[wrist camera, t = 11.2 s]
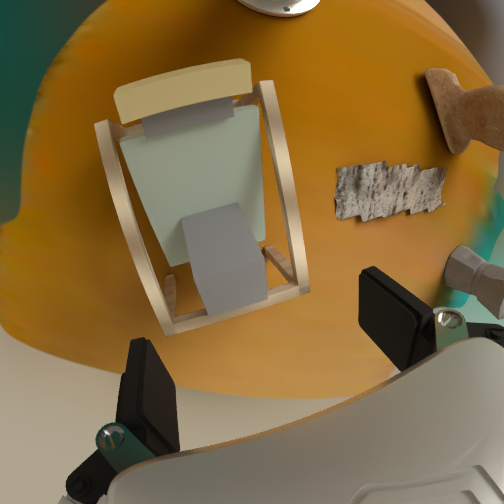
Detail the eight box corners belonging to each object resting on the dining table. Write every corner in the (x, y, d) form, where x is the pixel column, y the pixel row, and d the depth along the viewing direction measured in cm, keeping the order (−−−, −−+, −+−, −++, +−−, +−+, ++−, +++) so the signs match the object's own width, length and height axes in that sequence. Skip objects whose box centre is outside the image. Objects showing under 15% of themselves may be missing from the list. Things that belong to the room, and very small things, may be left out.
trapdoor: (105, 89, 14) (97, 101, 12) (250, 54, 15) (266, 61, 14) (169, 259, 28) (173, 284, 26) (262, 233, 29) (272, 254, 27)
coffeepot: (433, 271, 43) (506, 317, 26) (456, 229, 41) (531, 263, 25) (456, 299, 49) (513, 338, 32) (476, 264, 47) (534, 297, 31)
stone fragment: (323, 168, 33) (335, 242, 36) (334, 170, 30) (346, 248, 34) (445, 145, 36) (449, 201, 40) (457, 146, 33) (461, 204, 37)
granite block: (181, 217, 23) (193, 280, 18) (237, 202, 24) (264, 259, 19) (194, 257, 27) (209, 317, 22) (243, 242, 27) (267, 299, 23)
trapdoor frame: (123, 134, 25) (93, 124, 15) (242, 103, 27) (272, 79, 17) (168, 283, 32) (165, 336, 22) (273, 252, 34) (310, 292, 24)
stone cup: (472, 140, 36) (536, 150, 23) (442, 160, 36) (517, 174, 22) (449, 63, 30) (515, 58, 16) (414, 71, 30) (493, 61, 16)
